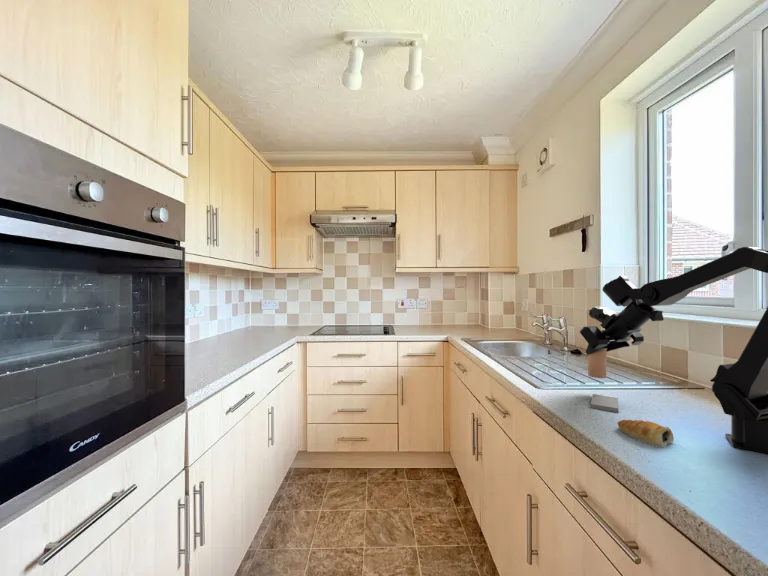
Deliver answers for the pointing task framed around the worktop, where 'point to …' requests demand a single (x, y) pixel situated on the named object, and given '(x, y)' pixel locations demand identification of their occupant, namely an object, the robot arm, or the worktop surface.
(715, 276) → the robot arm
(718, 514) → the worktop surface
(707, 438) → the worktop surface
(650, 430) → the pastry
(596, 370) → the stub
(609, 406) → the pad
